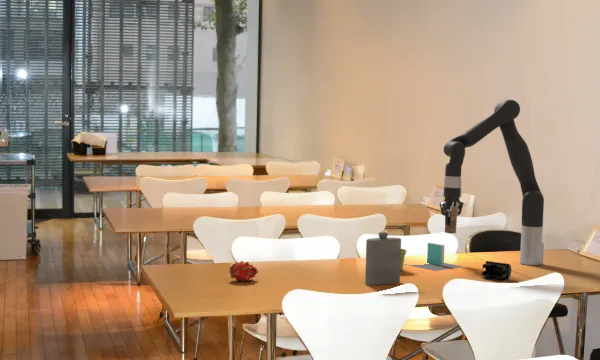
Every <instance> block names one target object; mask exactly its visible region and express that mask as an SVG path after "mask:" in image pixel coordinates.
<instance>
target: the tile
mask: <svg viewBox="0 0 600 360" xmlns="http://www.w3.org/2000/svg"><path fill="white" fill-rule="evenodd" d="M426 256H427V263H429V264H434V265H439V266H443V265H444V263H445V244H441V243H434V242H427V255H426Z"/></svg>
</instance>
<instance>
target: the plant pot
mask: <svg viewBox="0 0 600 360" xmlns="http://www.w3.org/2000/svg"><path fill="white" fill-rule="evenodd" d="M406 252H407V249H405V248H401V260H400V272H401V271H403V267H404V264H403V263H404V262H405V256H406V254H407V253H406Z"/></svg>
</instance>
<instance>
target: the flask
mask: <svg viewBox="0 0 600 360" xmlns="http://www.w3.org/2000/svg"><path fill="white" fill-rule="evenodd" d="M388 235H389V234H388V232H386V231H380V232H379V233H378V237H375V238H374V237H373V238H367V239H366V241H365V242H366V245H365V275H364V276H365V285H367V286H380V285H395V284H396V285H398V284H400V282H401V271H400V260H401V249H402V239H401V238H399V237H388Z"/></svg>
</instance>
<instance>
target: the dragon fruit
mask: <svg viewBox="0 0 600 360" xmlns="http://www.w3.org/2000/svg"><path fill="white" fill-rule="evenodd" d="M228 272H229V275H230V278H231V279H235V281H236V282H244V281H245V282H246V281H247V282H252V281H254V279H253V278H255V277H256V275H257V274H258V273H259V270H258V269H257V268H256V266H254V265H253V264H250V263H249V261H246V262H244V260H243V261H234V263H232V265H231V266H230V267H229V270H228Z"/></svg>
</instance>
